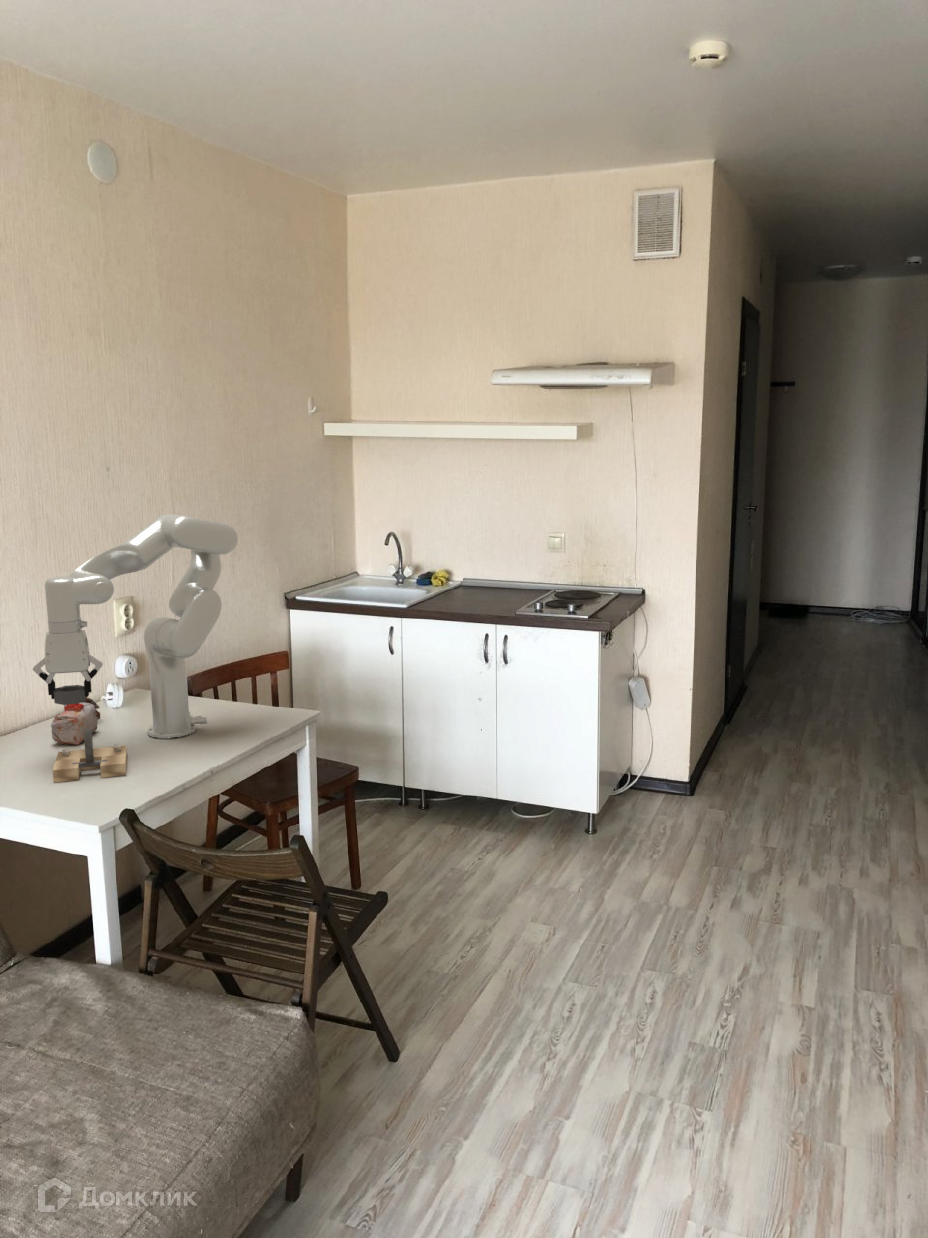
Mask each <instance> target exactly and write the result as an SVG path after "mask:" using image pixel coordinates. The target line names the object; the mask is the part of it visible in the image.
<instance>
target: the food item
mask: <svg viewBox="0 0 928 1238" xmlns="http://www.w3.org/2000/svg"><path fill="white" fill-rule="evenodd" d="M63 710H64V711H62V712H61V713H60V712H58V713H57V714H56V715H55V716H54V718H53V720H52V721H51V724H50V727H51V738H52V740H53V741H54V742H56V743H57V744H62V745H71V746H73V745H74V746H79V744H81V743H82V742H83V741H84V732H83V730H85V729H91V730H92V734H93V733H94V732H96V731H97V730H98V720H97V717H96V712H95V706H94V705H92V704H90V703H85V702H82V703H77V704H70V705H63Z"/></svg>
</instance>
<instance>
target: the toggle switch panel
mask: <svg viewBox="0 0 928 1238" xmlns="http://www.w3.org/2000/svg"><path fill="white" fill-rule="evenodd" d="M83 732H84V740H83V741H84V742H83V743H84V748H83V749H74V750H70V749H69V748H65V749H61V751H58V752H57V754H56V759H55V762H54V765H53V767H52V777H53V783H61V782H63V783H64V782H71V781H79V779H80V776H81V772H82V771H86V770H87V771H88V770H96V769H97V770H99V769H100V777H101V779H102V778H103V779H104V778H109V777H110V778H111V777H112V778H114V777H121V776H120V775H124V776H126V775H127V767H126V766H128V765H127V764H128V747H127V745H122V744H120V743H119V744H113V746H108V747H98V748H97V747H96V748H94V745H93V733H92V730H91V729H85V730H83ZM98 768H99V769H98ZM113 776H114V777H113Z"/></svg>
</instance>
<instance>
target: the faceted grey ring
mask: <svg viewBox="0 0 928 1238" xmlns="http://www.w3.org/2000/svg"><path fill="white" fill-rule="evenodd" d="M86 699H87V697H86V696H85V689H84V685H81V684H71V685H62V686H59V687H56V689H55V691H54V699H53V700H54V704H55V705H56V704H57V705H61V706H64V705H68V704H77V703H81V702H84V701H86Z"/></svg>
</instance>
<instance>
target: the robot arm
mask: <svg viewBox="0 0 928 1238" xmlns="http://www.w3.org/2000/svg"><path fill="white" fill-rule="evenodd" d="M238 540H239V537H238V534H237V531H236V529H235V528H234V527H233V526H232V525H230V524H228V523H226V522H219V521H214V520H207V519H203V518H197V517H193V516H189V515H183V514H175V513H167V514H163V515H161V516H159V517H157V518H156V519H154V520H152V521H151V522H150V523H149V524H148V525H146V526H145V527H144V528H142V529H141V530H140V531H139V532H137V533H135V534H134V535H133V536H132V537H130V538H129V539H127V540H125V541H124V542H122V543H119V544H118V545H115V546H113V547H111V548H109V549H108V550H104V551H103V552H100V553H97V555H94V556H93V557H91V558H89V559H88V560H87V561H85V562H84V563H82V564H81V565H79V566H78V567H76V569H74V570H73V571H72V572H71V573H70V574H69V575H68V576H67V575H66V576H65V575H64V576H63V575H62V576H54V577H50V578H47V579H46V580H45V583H44V590H45V603H46V612H47V613H46V614H47V626H48V632H46V633H45V639H44V640H45V641H44V657H43V658H42V659H41V660H40V661H39V662H37V663H36V664H35V665H34V666H33V668H32V671H33V672H35V673H36V675H38V676H39V678H41V680H43V681H44V682H45V684H47V691H48V696H51V700H54V691H55V689H56V688H57V687H56V681H55V680H54V677H55V676H56V674H68V673H69V674H70V673H80V674H81V675H82V676H83V677H84V681H83V686H84V689H85V696H86V697H88V698H89V695H90V693H92V691H93V690H92V679H93V678H94V677H95V676H96V675H97V674H98V673H99V671H100V670H101V668H102V667H103V666H104V664H103V662H102V661H101V660H99V659H97V658H96V657H94V656H93V655H91V654H90V648H89V640H88V637H87V633H86V630H83V628H86V627H88V621H85V620H83V619H82V618H81V608H80V607H81V605H100V604H105V603H106V602H108V601H109V600H110V599H112V597H113V595H114V591H115V587H114V586H115V585H114V584H113V582H112V579H114V578H117V577H119V576H120V577H121V576H123V575H127V574H132V573H137V572H139V571H142V570H145V569H147V568H149V567H150V566H152V564H154V563H155V562H157V561H158V560H159V559H160V558H162V557H163V556H165V555H166V554H167V553H168V552H170V551H171V550H173V549H174V548H181V549H187V550H190V555H191V556H190V557H191V559H190V563H189V566H188V567H187V569H186V572H185V573H184V575H183V577H182V578H181V580H180V581H179V583H178V584H177V586H176V588H175V589H174V591H173V592H172V594H171V596H170V598H169V602H168V607H169V610H170V612H171V613H172V614H173V615H174V616H176V617H178V618H179V619H176V618H172V617H171V618H170V617H167V616H166V617H163V616H161V617H157V618H154V619H152V620H151V621H150V622H148V624H147V625H146V627H145V629H144V633H143V642H144V646H145V647H144V648H145V650H146V656H147V660H148V668H149V681H150V682H149V683H150V696H151V697H150V699H151V714H152V725H151V726H150V727H148V728H147V735H148V736H150V737H151V738H154V737H157V738H156V739H169V738H168V737H178V738H183V737H186V736H189V735H191V733H192V732H193V733H194V732H196V730H197V728H196V726H197V725H199V724H200V725H206V724H208V720H207V718H208V717H207V716H202V715H197V716H196V715H195V716H193V715H191V711H190V710H189V709H190V708H189V693H188V692H189V691H188V690H189V689H188V688H189V687H188V676H187V675H188V673H187V671H188V670H187V664H186V663H187V662H186V659H187V658H190V657H193V656H194V655H195V654H197V653H198V651H199V650H200V649H201V648H202V645H203V644H204V643H205V641H206V639H207V638H208V636H209V634H210V633H211V632H212V629H213V628H214V627H215V625H216V623H217V621H218V619H219V617H220V615H221V611H222V600H221V596H220V595H219V593H218V592H217V591H216V590H214V589H215V586H216V585H217V583H218V581H219V579H220V576H221V572H222V562H221V555H228V554H230V553H232V551H234V550H235V549H236V547H237V545H238ZM91 664H93V665H94V667H93V669H92V670H91V671H89V667H90V666H91ZM44 666H45V671H46V672H47V673H48V674H47V673H46V672H45V671H43V670H42V667H44ZM193 733H192V734H193ZM188 734H189V735H188ZM185 735H186V736H185ZM182 736H183V737H182Z"/></svg>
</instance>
